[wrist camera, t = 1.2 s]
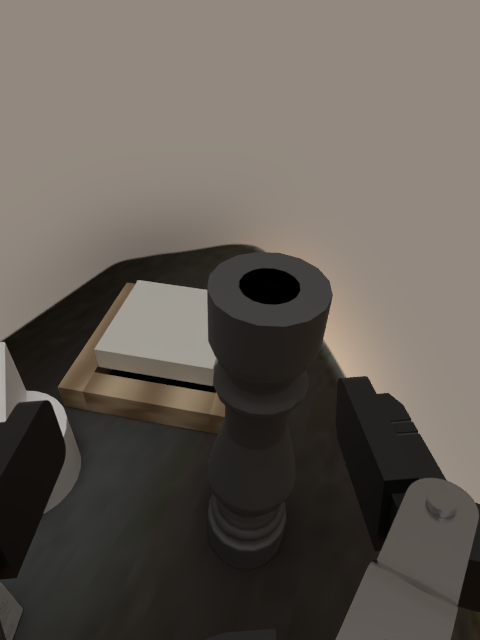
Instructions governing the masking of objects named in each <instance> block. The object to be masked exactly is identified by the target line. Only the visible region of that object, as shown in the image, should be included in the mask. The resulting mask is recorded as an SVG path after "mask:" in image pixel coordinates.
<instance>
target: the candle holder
mask: <svg viewBox="0 0 480 640" xmlns="http://www.w3.org/2000/svg"><path fill="white" fill-rule="evenodd" d="M332 296H333V295H332V291H331V286H330V282H329V280H328V279H327V278H326V277H325V276H324V275H323V273H322V272H321V271H320V270H319V269H318V268H316V267H315V266H313V265H311V264H309V263H307V262H305V261H304V260H302V259H300V258H296V257H292V256H288V255H285V254H281V253H266V252H255V253H249V254H244V255H238V256H235V257H233V258H231V259H229V260H227V261H225V262H222V263H220V264H219V265H218V266H217V267H216V269H215V270H214V271H213V272H212V273H211V274H210V275H209V281H208V288H207V305H208V342H209V344H210V346H211V348H212V351H213V353H214V355H215V357H216V358H217V360H218V362H217V364H216V365H215V367H214V377H213V386H214V388H215V390H216V393H217V395H218V397H219V399H220V401H221V402H222V403H223V404H224V405H225V418H224V421H223V423H222V426H221V428H220V430H219V433H218V435H217V438H216V440H215V443H214V445H213V447H212V450H211V452H210V454H209V457H208V467H207V478H208V481H209V484H210V487H211V490H212V497H211V498H210V500H209V507H208V536H209V539H210V542H211V545H212V549H213V550H214V552H215V553H216V554H217V555H218V556H219V557H220V559H221V560H222V561H223V562H225V563H227V564H229V565H231V566H233V567H235V568H238V569H254V568H256V567H259V566H261V565H264V564H266V563H267V562H268V561H269V560H270V559H271V558H272V557H273V556H274V555H275V554H276V553H277V551H278V549H279V546H280V543H281V540H282V537H283V533H284V529H285V524H286V504H285V500H286V499H287V498H288V497H289V496H290V493H291V490H292V488H293V485H294V482H295V479H296V470H295V459H294V454H293V449H292V444H291V439H290V434H289V429H288V422H289V417H290V412H292V411H293V410H294V409H295V408H296V407H298V406H299V405H300V404H301V403H302V400H303V398H304V396H305V393H306V391H307V389H308V378H307V371H306V370H308V367H309V365H310V364H312V363H313V362H314V361H315V360H316V357H317V355H318V353H319V351H320V348H321V346H322V341H323V337H324V332H325V328H326V323H327V319H328V314H329V309H330V305H331V301H332Z"/></svg>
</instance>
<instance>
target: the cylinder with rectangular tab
mask: <svg viewBox="0 0 480 640" xmlns="http://www.w3.org/2000/svg"><path fill="white" fill-rule="evenodd" d="M42 400H48V401H50V402H51V404H52V406H53V409H54V411H55V414H56V417H57V420H58V423H59V426H60V429H61V432H62V435H63V438H64V441H65V446H66V455H65V461H64V464H63V467H62V469H61V472H60V474H59V477H58V479H57V481H56V484H55V486H54V489H53V491H52V494H51V496H50V498H49V501H48V503H47V506H46V508H45V510H44V513H46V512H48V511H49V510H51V509H52V508H53V507H55V506H56V505H58V504H59V503H60V502H61V501H62V500H63V499H64V498H65V497H66V496H67V495H68V493H69V492H70V491H71V489H72V488H73V486H74V484H75V483H76V481H77V479H78V476H79V473H80V469H81V455H80V452H79V449H78V446H77V443H76V441H75V438H74V435H73V432H72V430H71V427H70V424H69V422H68V419H67V416H66V413H65V411H64V408H63V407H62V405H61V404H60V403H59V402H58V401H57V400H56V399H55V398H53V397H51V396H49V395H48V394H44V393H40V392H37V391H26V389H25V387H24V385H23V382H22V380H21V378H20V376H19V373H18V371H17V369H16V366H15V364H14V362H13V360H12V357H11V355H10V353H9V350H8V348H7V346H6V344H5V342H0V422H5V421H6V420H7V418H8V417H9V415H10V413H11V412H12V410H13V409H14V407H15V406H16V404H18V403H19V402H29V401H42ZM44 513H43V514H44Z"/></svg>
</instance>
